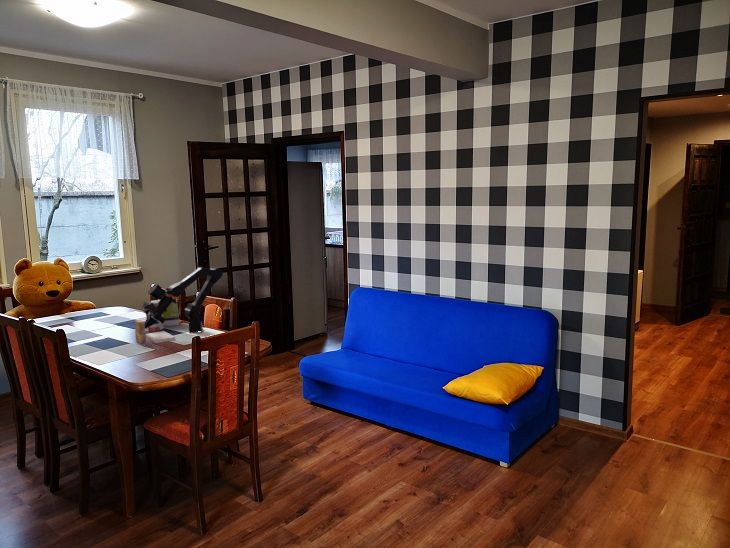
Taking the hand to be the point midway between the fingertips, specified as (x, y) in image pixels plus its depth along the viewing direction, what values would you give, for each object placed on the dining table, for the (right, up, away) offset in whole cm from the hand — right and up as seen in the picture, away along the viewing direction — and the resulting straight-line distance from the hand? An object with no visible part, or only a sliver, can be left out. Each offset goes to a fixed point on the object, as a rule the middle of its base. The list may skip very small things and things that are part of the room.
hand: (143, 328), depth 291 cm
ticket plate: (+7, -6, +6) cm, 11 cm away
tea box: (-1, -2, +36) cm, 36 cm away
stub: (-1, -7, 0) cm, 7 cm away
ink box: (-2, -3, +23) cm, 24 cm away
